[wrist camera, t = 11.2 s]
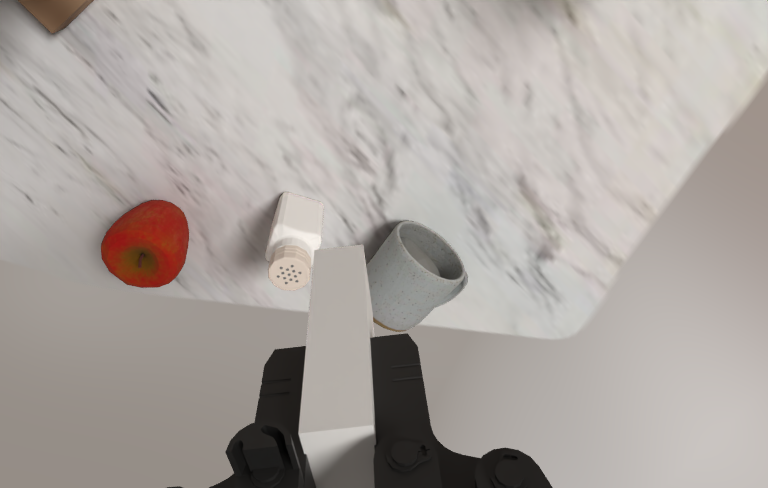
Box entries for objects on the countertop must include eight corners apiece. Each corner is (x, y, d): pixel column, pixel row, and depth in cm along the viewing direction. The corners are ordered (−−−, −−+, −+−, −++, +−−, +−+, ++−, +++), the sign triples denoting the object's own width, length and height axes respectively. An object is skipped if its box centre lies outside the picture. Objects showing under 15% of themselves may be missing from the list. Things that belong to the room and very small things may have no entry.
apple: (125, 237, 47) (91, 287, 41) (130, 179, 44) (94, 224, 38) (195, 253, 49) (173, 304, 43) (204, 197, 46) (182, 244, 40)
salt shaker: (282, 187, 46) (269, 246, 38) (326, 200, 47) (322, 261, 39) (271, 224, 48) (256, 288, 40) (313, 236, 49) (307, 300, 41)
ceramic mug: (348, 270, 51) (350, 323, 45) (393, 208, 48) (402, 256, 41) (434, 309, 55) (447, 363, 49) (482, 254, 51) (503, 304, 45)
